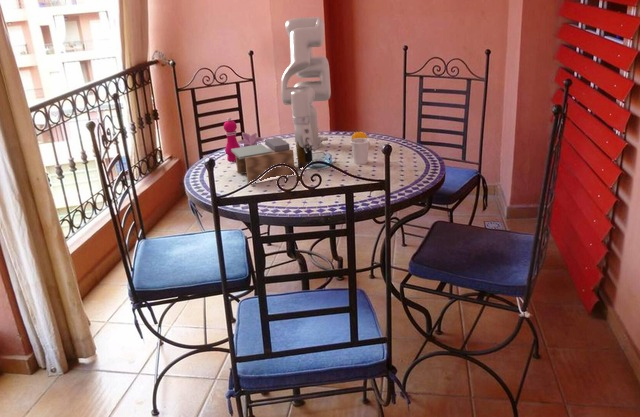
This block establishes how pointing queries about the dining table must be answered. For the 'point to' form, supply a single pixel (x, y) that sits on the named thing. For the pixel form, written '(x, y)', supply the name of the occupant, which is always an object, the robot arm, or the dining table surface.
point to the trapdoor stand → (266, 165)
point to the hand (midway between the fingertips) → (304, 158)
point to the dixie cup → (360, 150)
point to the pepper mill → (231, 139)
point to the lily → (250, 139)
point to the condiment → (301, 157)
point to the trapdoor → (262, 148)
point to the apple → (359, 135)
